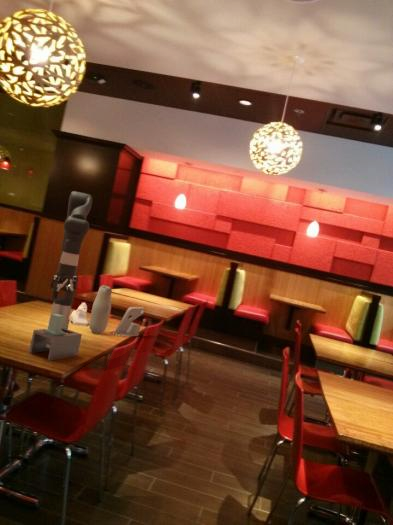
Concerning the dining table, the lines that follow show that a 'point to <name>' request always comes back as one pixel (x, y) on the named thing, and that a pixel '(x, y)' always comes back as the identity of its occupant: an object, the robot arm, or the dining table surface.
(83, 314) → the soft serve ice cream
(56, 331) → the boxy toy figurine
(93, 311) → the grey vase
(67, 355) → the grey open box
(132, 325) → the phone holder
